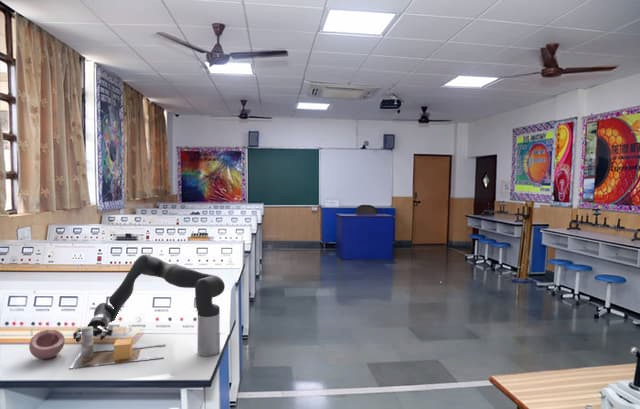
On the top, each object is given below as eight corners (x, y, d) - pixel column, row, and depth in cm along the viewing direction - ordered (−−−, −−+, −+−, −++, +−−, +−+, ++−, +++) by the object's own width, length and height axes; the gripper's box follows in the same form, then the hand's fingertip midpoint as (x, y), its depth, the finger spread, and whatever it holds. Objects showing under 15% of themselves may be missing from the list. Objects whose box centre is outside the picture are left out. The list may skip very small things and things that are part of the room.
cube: (132, 351, 165) (132, 338, 164) (130, 358, 159) (130, 344, 159) (116, 353, 163) (116, 339, 163) (113, 360, 157) (113, 345, 157)
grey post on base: (140, 351, 168) (140, 319, 167) (137, 362, 158) (137, 328, 157) (82, 358, 161) (82, 324, 160) (75, 369, 151) (75, 334, 150)
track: (165, 348, 173) (165, 344, 173) (163, 362, 160) (163, 357, 160) (78, 357, 162) (78, 353, 162) (69, 373, 149) (69, 368, 149)
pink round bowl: (35, 367, 153) (34, 339, 152) (25, 358, 160) (24, 331, 159) (69, 356, 162) (69, 330, 162) (58, 348, 170) (57, 323, 169)
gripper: (80, 318, 172) (69, 331, 157) (116, 315, 177) (108, 328, 161) (80, 334, 173) (69, 349, 158) (116, 331, 177) (109, 345, 162)
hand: (89, 338), depth 159 cm, fingers open, 8 cm apart
